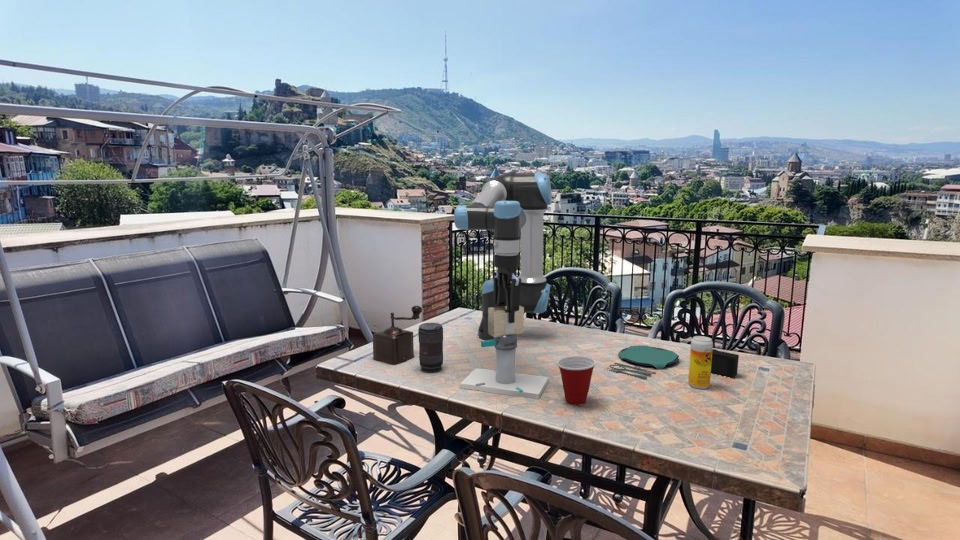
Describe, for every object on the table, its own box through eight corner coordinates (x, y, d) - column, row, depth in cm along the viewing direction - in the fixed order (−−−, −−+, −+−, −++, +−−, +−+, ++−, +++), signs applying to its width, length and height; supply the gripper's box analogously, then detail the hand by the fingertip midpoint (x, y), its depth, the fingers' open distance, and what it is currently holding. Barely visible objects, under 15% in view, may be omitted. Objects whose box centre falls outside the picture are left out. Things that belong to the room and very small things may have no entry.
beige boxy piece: (514, 341, 163) (514, 303, 161) (525, 347, 157) (526, 308, 155) (476, 346, 157) (476, 307, 156) (487, 353, 151) (487, 313, 149)
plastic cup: (553, 393, 154) (554, 354, 152) (590, 393, 153) (592, 354, 151) (557, 409, 143) (559, 367, 141) (597, 409, 143) (599, 367, 141)
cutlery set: (687, 358, 185) (687, 352, 184) (651, 384, 163) (651, 377, 162) (634, 347, 198) (634, 341, 198) (594, 369, 176) (594, 363, 176)
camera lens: (414, 371, 172) (413, 326, 169) (427, 363, 179) (427, 321, 176) (435, 375, 168) (434, 330, 165) (448, 367, 175) (447, 324, 172)
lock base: (475, 372, 170) (475, 337, 168) (548, 381, 163) (549, 344, 161) (460, 388, 157) (459, 350, 155) (538, 399, 149) (539, 359, 147)
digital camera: (738, 374, 170) (740, 353, 168) (733, 379, 166) (735, 357, 164) (705, 367, 176) (707, 347, 175) (700, 371, 172) (701, 350, 171)
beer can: (700, 391, 156) (703, 342, 153) (683, 384, 161) (687, 337, 158) (714, 387, 158) (717, 339, 156) (697, 380, 164) (700, 334, 161)
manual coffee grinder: (395, 365, 176) (394, 314, 173) (372, 359, 183) (370, 309, 180) (425, 353, 189) (424, 305, 186) (403, 348, 195) (401, 301, 192)
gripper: (482, 251, 159) (482, 325, 163) (509, 258, 144) (508, 340, 148) (504, 249, 162) (503, 322, 166) (533, 256, 147) (531, 336, 151)
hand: (505, 330), depth 157 cm, fingers closed on beige boxy piece, 4 cm apart
